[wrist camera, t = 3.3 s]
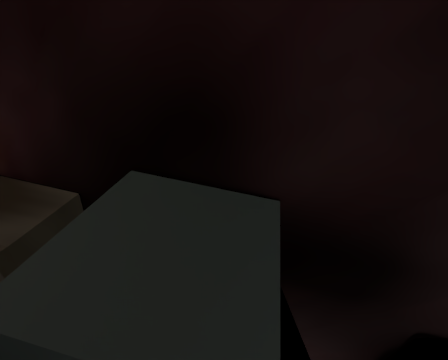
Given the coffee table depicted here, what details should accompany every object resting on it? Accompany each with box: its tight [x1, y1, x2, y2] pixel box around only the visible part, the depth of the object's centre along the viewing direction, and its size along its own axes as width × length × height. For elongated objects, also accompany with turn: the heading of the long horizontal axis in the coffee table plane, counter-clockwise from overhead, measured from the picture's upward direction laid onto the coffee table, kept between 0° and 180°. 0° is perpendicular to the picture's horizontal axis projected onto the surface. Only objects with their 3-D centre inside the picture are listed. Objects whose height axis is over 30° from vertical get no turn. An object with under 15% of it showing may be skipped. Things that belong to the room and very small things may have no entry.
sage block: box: [0, 171, 280, 360], centre depth 8 cm, size 6×6×6 cm
